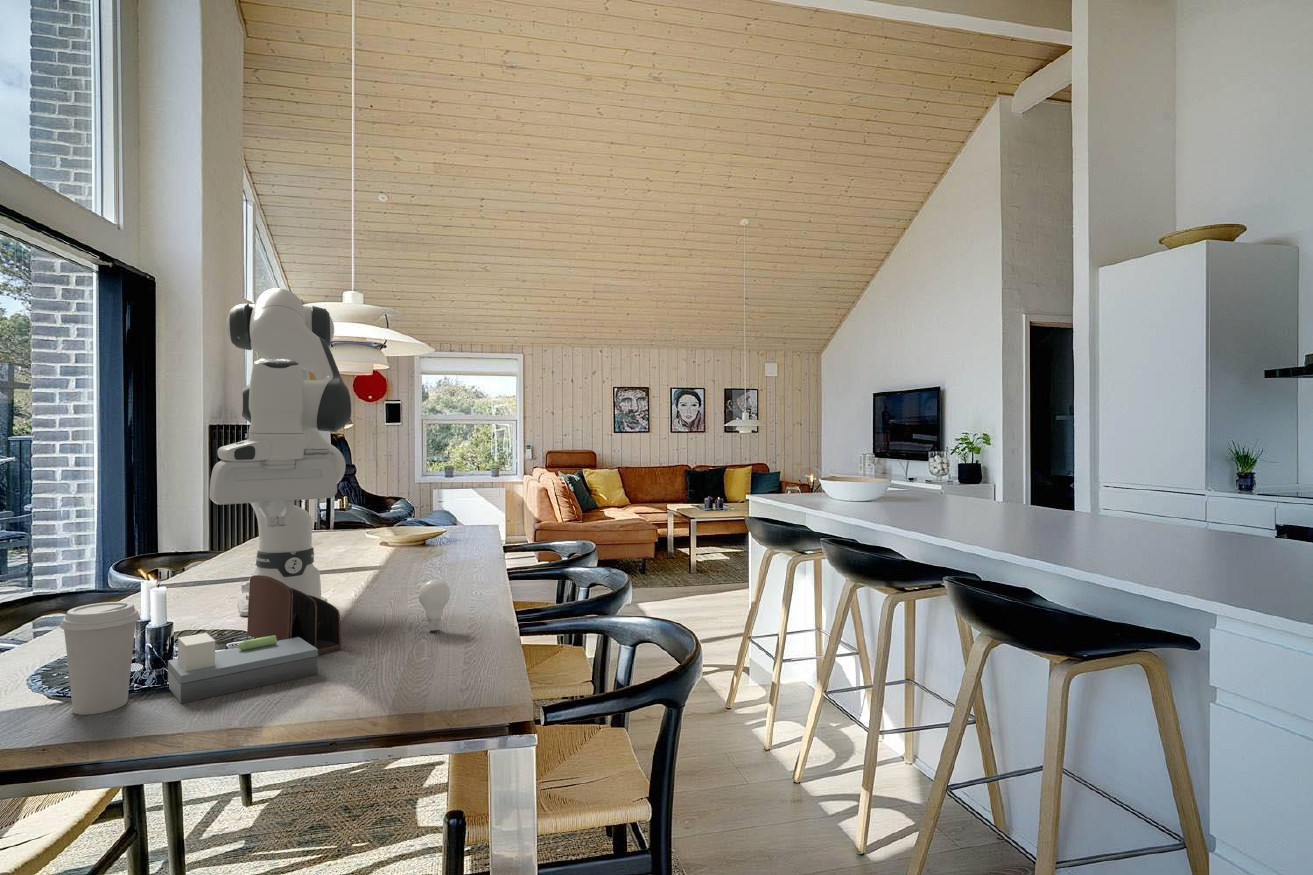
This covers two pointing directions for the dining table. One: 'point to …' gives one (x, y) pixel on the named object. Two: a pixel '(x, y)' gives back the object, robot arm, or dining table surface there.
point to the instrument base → (241, 680)
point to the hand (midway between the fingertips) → (276, 526)
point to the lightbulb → (434, 601)
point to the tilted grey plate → (233, 656)
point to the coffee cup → (99, 655)
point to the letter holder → (291, 615)
